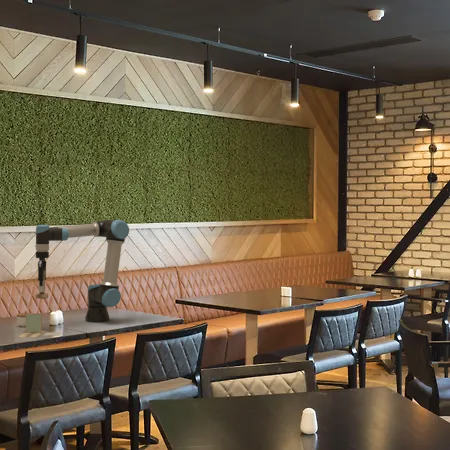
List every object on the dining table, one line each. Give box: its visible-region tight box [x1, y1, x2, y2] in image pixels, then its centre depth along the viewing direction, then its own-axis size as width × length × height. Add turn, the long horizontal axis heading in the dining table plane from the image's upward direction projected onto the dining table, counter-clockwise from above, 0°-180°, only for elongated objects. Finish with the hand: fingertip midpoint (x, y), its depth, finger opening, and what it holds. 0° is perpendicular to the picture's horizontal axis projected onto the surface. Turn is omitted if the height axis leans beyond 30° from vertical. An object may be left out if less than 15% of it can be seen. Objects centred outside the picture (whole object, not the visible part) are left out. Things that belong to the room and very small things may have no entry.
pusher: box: [35, 270, 49, 300], centre depth 426 cm, size 6×6×16 cm
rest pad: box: [42, 331, 62, 337], centre depth 414 cm, size 9×9×1 cm
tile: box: [25, 312, 43, 333], centre depth 418 cm, size 9×2×11 cm, turn 92°
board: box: [17, 330, 47, 338], centre depth 414 cm, size 12×18×1 cm, turn 2°
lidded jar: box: [16, 311, 28, 328], centre depth 441 cm, size 11×11×9 cm
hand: (41, 291), depth 426 cm, fingers closed on pusher, 3 cm apart
